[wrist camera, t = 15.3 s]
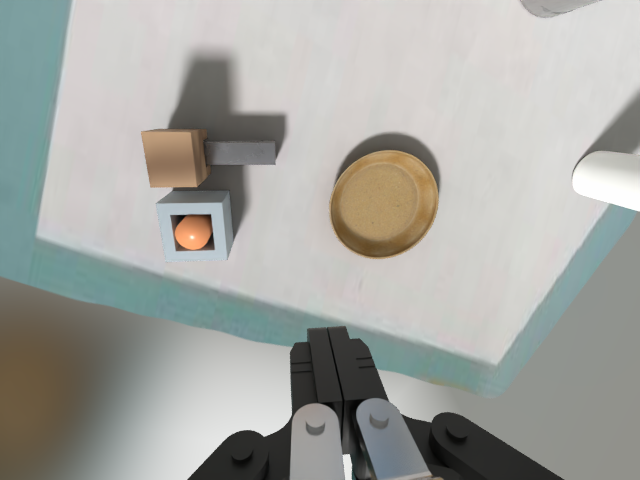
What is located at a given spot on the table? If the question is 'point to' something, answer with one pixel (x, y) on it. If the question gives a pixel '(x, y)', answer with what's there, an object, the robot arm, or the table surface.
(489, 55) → the table surface
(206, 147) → the handrail
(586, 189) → the can
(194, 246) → the button
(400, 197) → the plant saucer
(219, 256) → the grey hollow block
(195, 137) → the carriage
